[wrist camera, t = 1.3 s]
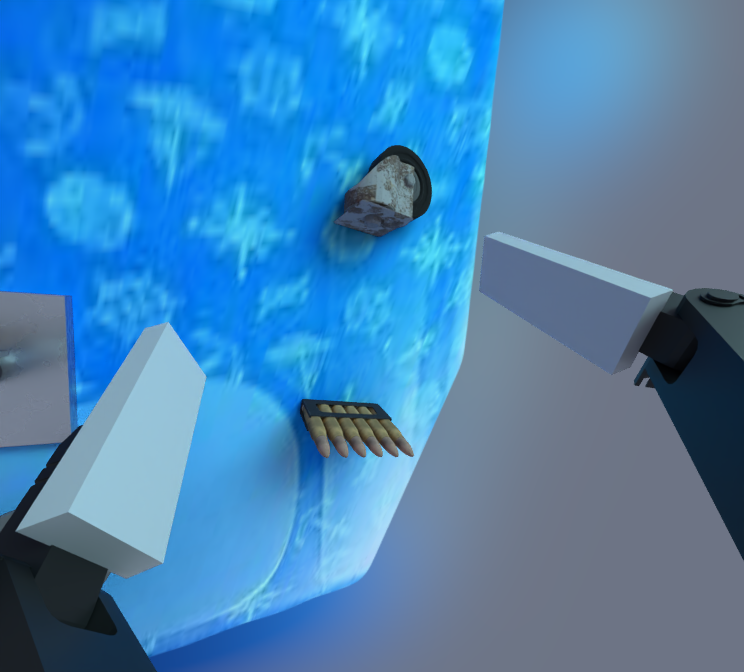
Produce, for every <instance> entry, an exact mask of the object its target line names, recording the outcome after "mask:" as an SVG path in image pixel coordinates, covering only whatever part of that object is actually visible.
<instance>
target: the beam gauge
mask: <svg viewBox="0 0 744 672" xmlns="http://www.w3.org/2000/svg"><path fill="white" fill-rule="evenodd" d="M77 428H78V427H77V405H76V382H75V359H74V336H73V313H72V296H67V295H52V294H37V293H22V292H7V291H0V447H10V446H23V445H36V444H49V443H62V442H63V441H64V440H65V439H66V438H67V437H68V436H69V435H70V434H71V433H72V432H73V431H75V430H76V429H77Z"/></svg>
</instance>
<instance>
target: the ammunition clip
mask: <svg viewBox="0 0 744 672" xmlns="http://www.w3.org/2000/svg"><path fill="white" fill-rule="evenodd" d="M300 414H301V417H302V419H303V421H304V424H305V427H306V429H307V431H309V432H310V435H311V438H312V439H313V441H314V442H315V444H316V446H317V449H318V451H319V452H320V453H321V455H322V456H324V457H325V458H328V457H329V454H330V446H329V442H328V439H327V436H328V438H329V440H330V441H331V442H332V443H333V445H334V446H335V448H336V450H337V451H338V453H339V454H340V455H341V456H343V457H345V458H347V457H348V446H347V443H346V441H348V442H349V444H350V445H351V446H352V448H353V450H354V451H355V452H356V453H357V454H358V455H360V456H361V457H366V449H365V446H364V444H363V442H364V443H365V444H366V446H367V447H368V448H369V449H370V450H371V451H372V452H373V453H374V454H375V455H376V456H378V457H382V455H383V453H382V449H381V446H382V447H383V448H384V449H385V450H386V451H387V452H388V453H389V454H391V455H393V456H395V457H398V450H397V448H396V446H397V447H398V448H399V449H400V450H401V451H402V452H403V453H405V454H406V455H408V456H411V457H413V456H414V454H413V450H412V448H411V446H410V445H409V443H408V442H407V441H406V440H405V438H404V437H403V436H402V434H401V432H400V431H399V430H398V428H397V427H396V426H395V425H394V424H393V423H392V422H391V420H392V419H391V417H390V416H389V415H388V414H387V413H386V412H385V411H384V410H383V409H382V408H381V407H380V406H379V405H378V404H373V403H357V402H342V401H327V400H311V399H302V403H301V409H300ZM326 434H327V436H326ZM345 439H346V441H345ZM379 443H380V444H379ZM380 445H381V446H380Z"/></svg>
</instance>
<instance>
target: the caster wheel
mask: <svg viewBox="0 0 744 672" xmlns="http://www.w3.org/2000/svg"><path fill="white" fill-rule="evenodd" d="M431 196H432V187H431V181H430V177H429V174H428V171H427V169H426V167H425V166H424V164H423V162H422V161H421V159H420V158H419V157H418V156H417V155H416V154H415V153H414V152H413V151H412V150H410V149H409V148H407V147H404V146H400V145H394V146H391V147H389V148H387V149H386V150H385V151H384V152H383V153H382V154H380V155H379V156H378V157H377V158H376V159H375V160H374V161H373V163H372V164H371V166H370V168H369V172H368V174H367V175H366V176H365V177H364V178H363V179H362V180H361V181H360V182H359V183H358V184H357V185H355V186H354V187H352V188H351V189H350V190H348V191H347V193H346V194H345V205H344V214H343V215H342V216H341V217H339V218H338V219H337V220H336V221H334V223H336V224H339V225H342V226H346V227H349V228H352V229H355V230H359V231H362V232H365V233H368V234H372V235H375V236H379V237H381V236H383V235H384V234H386V233H388V232H390V231H392V230H394V229H396V228H398V227H403V226H405V225H407V224H408V223H409V222H410V221H412V220H414V219H416V218H418V217H420V216H422V215H423V214H424V213H425V212H426V211H427V209H428V207H429V205H430V202H431Z"/></svg>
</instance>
